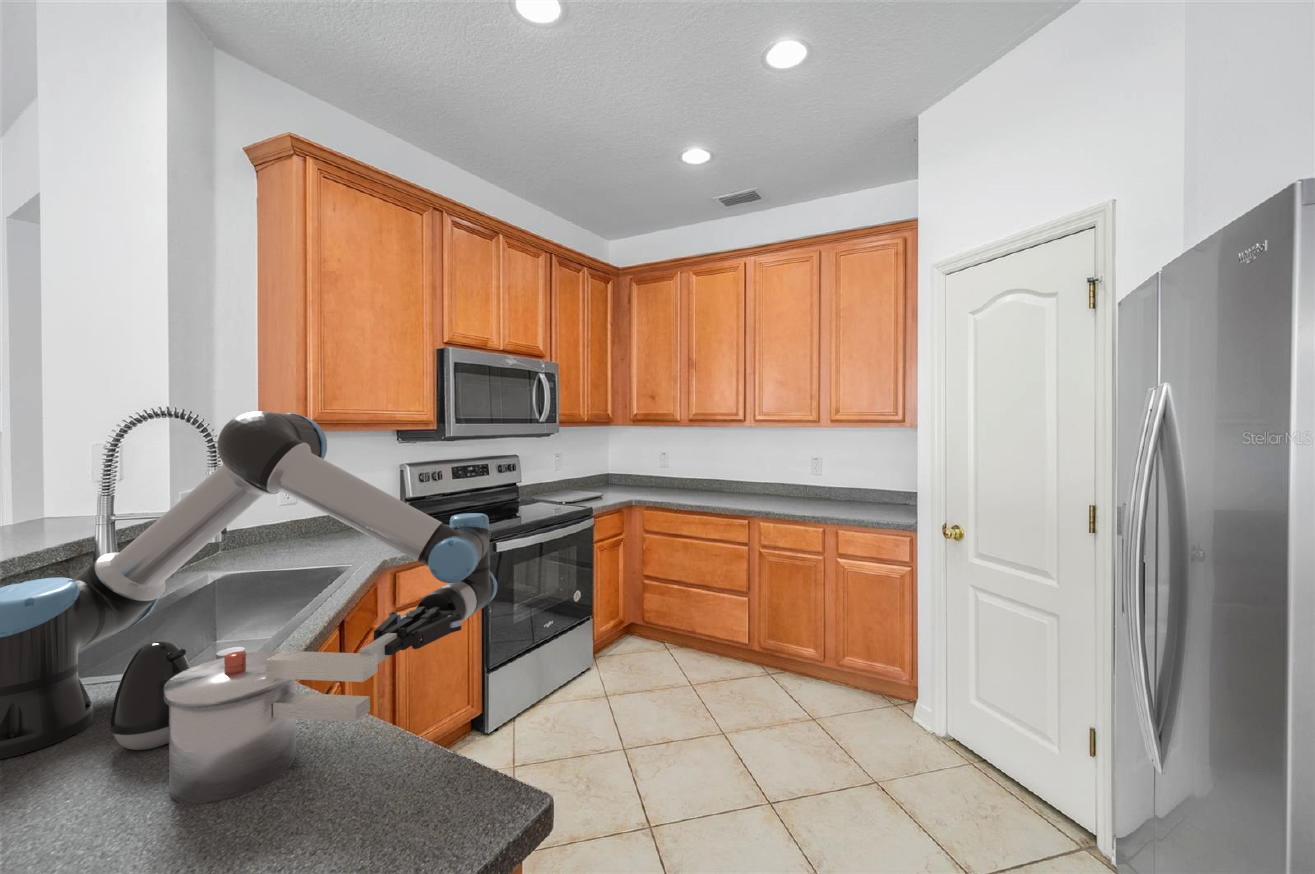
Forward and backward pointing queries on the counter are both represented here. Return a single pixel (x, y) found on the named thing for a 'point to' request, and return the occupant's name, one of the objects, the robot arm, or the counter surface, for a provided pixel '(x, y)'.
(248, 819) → the counter surface
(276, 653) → the lid
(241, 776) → the cooker pot
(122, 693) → the pump dispenser
